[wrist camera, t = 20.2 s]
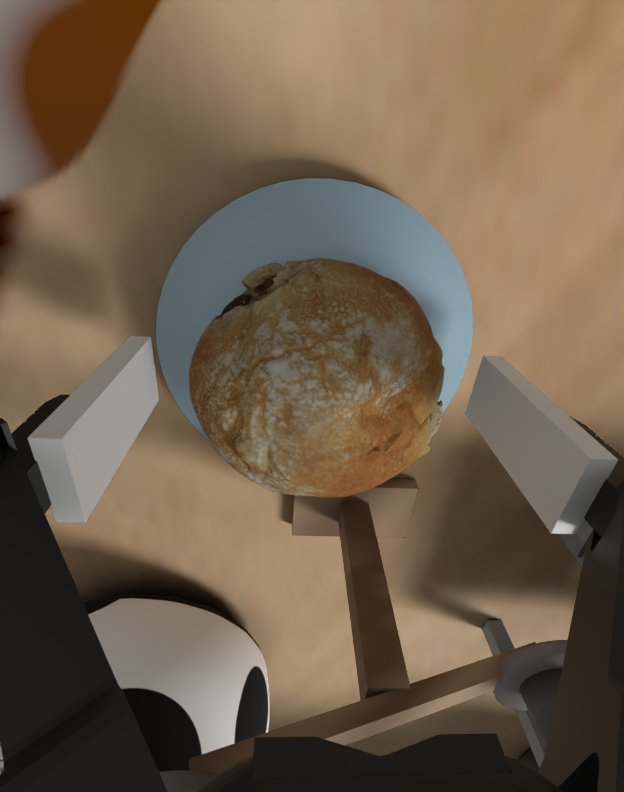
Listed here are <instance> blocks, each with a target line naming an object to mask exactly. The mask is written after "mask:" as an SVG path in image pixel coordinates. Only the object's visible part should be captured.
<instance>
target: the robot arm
mask: <svg viewBox="0 0 624 792" xmlns="http://www.w3.org/2000/svg"><path fill="white" fill-rule="evenodd" d="M158 401H159V395H158V387H157V380H156V372H155V364H154V357H153V349H152V341H151V337H142V336H130V337H129V338H128V339H127V340H126V341H125V342H124V343H123V344H121V345H120V346H119V347H118V348H117V349H116V350H115V351H114V352H113V353H112V354H111V355H110V356H109V357H108V358H107V359H106V360H105V361H104V362H103V363H102V364H101V365H100V366H99V367H98V368H97V369H96V370H95V371H94V372H93V373H92V374H91V375H90V376H89V377H88V378H87V379H86V380H85V381H84V382H83V383H82V384H81V385H80V386H79V387H78V388H77V389H76V390H75V391H74V392H73V393H72V394H71V395H59V396H57V397H55V398H53V399H51V400H49V401H47V402H45V403H44V404H43V405H42V406H41V407H40V408H39V409H38V410H37V411H35V414H32V415H31V416H30V417H29V418H28V419H27V420H26V422H24V423H22V424H21V425H20V426H19V427H18V428H17V429H16V430H15V431H14V432H13V433H12V434H11V432H10V429H9V427H8V424H7V422H6V421H5V420H3V419H2V418H0V744H1V749H2V755H3V762H4V770H3V771H2V773H1V774H0V792H167V789H166V787H165V785H164V782H163V780H162V778H161V776H160V773H159V771H158V769H157V766H156V764H155V762H154V760H153V757H152V755H151V753H150V750H149V748H148V746H147V744H146V741H145V739H144V737H143V734H142V732H141V730H140V728H139V725H138V723H137V721H136V718H135V716H134V714H133V712H132V709H131V707H130V705H129V703H128V700H127V698H126V696H125V694H124V692H123V690H122V688H120V687H119V685H118V683H117V680H116V678H115V676H114V674H113V671H112V669H111V667H110V664H109V662H108V660H107V657H106V655H105V653H104V650H103V648H102V646H101V644H100V641H99V639H98V637H97V634H96V632H95V630H94V627H93V625H92V623H91V620H90V618H89V616H88V613H87V611H86V609H85V607H84V604H83V602H82V600H81V597H80V595H79V593H78V590H77V588H76V586H75V583H74V581H73V579H72V576H71V574H70V572H69V569H68V567H67V565H66V563H65V560H64V558H63V556H62V553H61V551H60V549H59V546H58V544H57V542H56V539H55V537H54V535H53V532H52V530H51V528H50V526H49V523H48V521H47V519H46V516H45V513H46V511H47V510H48V509H49V507H50V506H51V509H52V512H53V515H54V518H55V521H56V522H73V523H86V521H87V520H88V518H89V516H90V514H91V513H92V511H93V509H94V508H95V506H96V504H97V503H98V501H99V499H100V498H101V496H102V494H103V493H104V491H105V489H106V488H107V486H108V484H109V483H110V481H111V479H112V478H113V476H114V474H115V473H116V471H117V469H118V468H119V466H120V464H121V463H122V461H123V459H124V458H125V456H126V454H127V453H128V451H129V449H130V448H131V446H132V444H133V442H134V441H135V439H136V437H137V436H138V434H139V432H140V431H141V429H142V427H143V426H144V424H145V422H146V421H147V419H148V417H149V416H150V414H151V412H152V411H153V409H154V407H155V406H156V404H157V402H158ZM465 414H466V415H467V416H468V418H469V419H470V421H471V422H472V423H473V425H474V426H475V428H476V429H477V430H478V432H479V433H480V435H481V436H482V437H483V439H484V440H485V442H486V443H487V444H488V446H489V447H490V449H491V450H492V451H493V453H494V454H495V456H496V457H497V458H498V460H499V461H500V463H501V464H502V465H503V467H504V468H505V470H506V471H507V472H508V474H509V475H510V477H511V478H512V479H513V481H514V482H515V484H516V485H517V487H518V488H519V489H520V491H521V492H522V494H523V495H524V496H525V498H526V499H527V501H528V502H529V503H530V505H531V506H532V508H533V509H534V510H535V512H536V513H537V515H538V516H539V517H540V519H541V520H542V522H543V523H544V524H545V526H546V527H547V529H548V530H549V531H550V533H551V534H576V533H577V531H578V529H579V528H580V526H581V524H582V522H583V521H584V519H586V520H587V521H588V523H589V524H590V525H591V526H592V527H593V531H592V532H591V534H590V536H589V537H588V539H587V541H586V542H585V544H584V546H583V547H582V549H581V551H580V552H579V554H578V556H577V557H579V558H582V557H583V556H584V560H583V565H582V570H581V575H580V580H579V586H578V591H577V596H576V601H575V606H574V611H573V616H572V621H571V626H570V631H569V636H568V641H567V646H566V652H565V657H564V662H563V667H562V672H561V677H560V682H559V687H558V692H557V697H556V702H555V707H554V713H553V718H552V723H551V728H550V733H549V738H548V743H547V748H546V752H545V756H544V759H543V761H542V764H541V766H540V768H539V766H538V764H537V761H536V759H535V756H534V754H533V752H532V749H531V750H530V751H528V752H527V753H526V754H525V755H524V756H523V757H522V758H521V759H520V761H516V760H514V759H512V758H510V757H508V756H504V753H503V751H502V748H501V745H500V742H499V739H498V737H497V734H446V735H437V736H434V737H432V738H429V739H427V740H424V741H421V742H419V743H416V744H414V745H411V746H409V747H406V748H403V749H401V750H398V751H396V752H393V753H391V754H388V755H385V756H377V755H373V754H370V753H367V752H363V751H360V750H357V749H354V748H351V747H348V746H344V745H341V744H338V743H335V742H332V741H329V740H325V739H322V738H319V737H316V736H310V737H254V750H253V756H252V757H249V758H247V759H244V760H241V761H239V762H237V763H235V764H233V765H231V766H229V767H228V768H226V769H224V770H222V771H221V772H220V773H218V774H217V775H216V776H214V777H213V778H211V779H210V780H209V781H207V782H206V783H205V784H204V785H203V786H202V787H201V788H200V789H199V790H198V791H197V792H624V458H623V457H621V456H620V455H619V454H618V453H617V452H616V451H614V450H613V449H612V448H611V447H610V446H609V445H608V444H605V442H604V441H603V440H602V439H601V438H599V437H598V436H596V434H595V433H594V432H593V431H591V430H590V429H589V428H588V427H587V426H586V425H584V424H582V423H581V422H579V421H577V420H575V419H573V418H572V417H570V416H568V415H567V414H566V413H565V412H564V411H563V410H561V409H560V408H559V407H558V406H557V405H556V404H555V403H554V402H552V401H551V400H550V399H549V398H548V397H547V396H546V395H545V394H543V393H542V392H541V391H540V390H539V389H538V388H537V387H535V386H534V385H533V384H532V383H531V382H530V381H529V380H528V379H526V378H525V377H524V376H523V375H522V374H521V373H520V372H519V371H517V370H516V369H515V368H514V367H513V366H512V365H511V364H509V363H508V362H507V361H506V360H505V359H504V358H503V357H500V356H483V359H482V362H481V365H480V368H479V371H478V375H477V378H476V381H475V384H474V387H473V391H472V394H471V397H470V400H469V403H468V407H467V410H466V413H465Z"/></svg>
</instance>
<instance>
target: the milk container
mask: <svg viewBox="0 0 624 792" xmlns="http://www.w3.org/2000/svg"><path fill="white" fill-rule="evenodd" d="M83 604H84V607H85V609H86V611H87V613H88V616H89V618H90V620H91V623H92V625H93V627H94V630H95V632H96V634H97V637H98V639H99V641H100V644H101V646H102V648H103V650H104V653H105V655H106V657H107V660H108V662H109V664H110V667H111V669H112V671H113V674H114V676H115V678H116V680H117V683H118V685H119V687H120V688H122V690H123V692H124V694H125V696H126V698H127V700H128V703H129V705H130V707H131V709H132V712H133V714H134V716H135V718H136V721H137V723H138V725H139V728H140V730H141V732H142V734H143V737H144V739H145V741H146V744H147V746H148V748H149V750H150V753H151V755H152V757H153V760H154V762H155V764H156V766H157V769H158V771H159V772H163V771H178V770H189V759H190V758H193V757H196V756H199V755H202V754H205V753H208V752H211V751H214V750H216V749H219V748H222V747H225V746H228V745H231V744H234V743H237V742H240V741H243V740H246V739H249V738H252V737H255V736H258V735H261V734H264V733H267V732H268V728H269V715H270V700H269V685H268V676H267V669H266V664H265V660H264V658H263V655H262V652H261V650H260V648H259V646H258V644H257V643H256V641H255V640H254V639H253V638H252V636H251V635H250V634H249V633H248V632H247V631H246V630H245V629H244V628H243V627H242V626H241V625H240V624H238V623H237V622H235V621H233V620H232V619H230V618H228V617H226V616H225V615H223V614H221V613H220V612H218V611H216V610H215V609H213V608H212V607H209V606H206V605H202V604H198V603H194V602H190V601H188V600H185V599H182V598H178V597H175V596H156V595H147V594H135V593H134V594H127V595H121V596H115V597H108V598H100V599H95V600H91V601H87V602H85V603H83ZM3 770H4V762H3V755H2V749H1V744H0V774H1V773H2V771H3Z"/></svg>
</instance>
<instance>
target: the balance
mask: <svg viewBox="0 0 624 792" xmlns="http://www.w3.org/2000/svg"><path fill="white" fill-rule="evenodd" d="M418 490H419V488H418V486H417V483H416V481H415V479H389V480H387V481H386V482H384V483H383V484H380V485H378V486H376V487H374V488H372V489H370V490H367V491H364V492H360V493H358V494H354V495H350V496H347V497H340V498H339V497H337V498H322V497H314V496H295V495H294V504H293V518H292V535H299V536H340V540H341V547H342V555H343V563H344V571H345V579H346V587H347V595H348V603H349V611H350V619H351V627H352V635H353V643H354V650H355V658H356V666H357V674H358V682H359V690H360V698H361V701H359V702H356V703H353V704H350V705H347V706H344V707H341V708H338V709H335V710H332V711H329V712H326V713H323V714H320V715H317V716H314V717H311V718H308V719H305V720H302V721H299V722H297V723H294V724H291V725H288V726H285V727H282V728H279V729H276V730H273V731H270V732H267V733H264V734H261V735H258V736H255V737H310V736H316V737H319V738H322V739H325V740H329V741H332V742H335V743H338V744H341V745H344V746H346V745H348V744H351V743H354V742H357V741H359V740H362V739H365V738H367V737H370V736H373V735H375V734H378V733H381V732H384V731H386V730H389V729H392V728H394V727H397V726H400V725H403V724H405V723H408V722H411V721H413V720H416V719H419V718H422V717H424V716H427V715H430V714H432V713H435V712H438V711H441V710H443V709H446V708H449V707H451V706H454V705H457V704H459V703H462V702H465V701H468V700H470V699H473V698H476V697H478V696H481V695H484V694H487V693H489V692H492V691H493V692H494V695H495V697H496V699H497V701H498V702H500V703H501V704H502V705H504V706H506V707H509V708H512V709H517V710H528V711H529V714H530V716H531V718H532V721H533V723H534V725H535V727H536V730H537V732H538V734H539V737H540V739H541V741H542V743H543V746H544V748H545V750H546V748H547V743H548V738H549V733H550V728H551V723H552V718H553V713H554V707H555V702H556V697H557V692H558V687H559V682H560V677H561V672H562V667H563V662H564V657H565V652H566V646H567V641H568V640H555V641H547V642H541V643H537V644H536V643H535V642H534V643H531V644H528V645H525V646H522V647H519V648H516V649H513V650H510V651H507V652H504V653H501V654H498V655H495V656H492V657H489V658H486V659H483V660H480V661H477V662H474V663H471V664H468V665H466V666H463V667H460V668H457V669H454V670H451V671H448V672H445V673H442V674H439V675H436V676H433V677H430V678H427V679H424V680H421V681H418V682H415V683H412V684H409V679H408V675H407V670H406V666H405V662H404V657H403V653H402V648H401V644H400V639H399V635H398V631H397V626H396V622H395V617H394V613H393V608H392V604H391V600H390V595H389V591H388V586H387V582H386V577H385V573H384V569H383V564H382V560H381V555H380V551H379V546H378V542H377V538H376V537H391V538H405V537H406V533H407V530H408V526H409V522H410V519H411V515H412V511H413V508H414V504H415V500H416V497H417V493H418ZM253 750H254V737H252V738H249V739H246V740H243V741H240V742H237V743H234V744H231V745H228V746H225V747H222V748H219V749H216V750H214V751H211V752H208V753H205V754H202V755H199V756H196V757H193V758H190V759H189V770H178V771H163V772H159V773H160V776H161V778H162V780H163V782H164V785H165V787H166V789H167V792H197V791H198V790H199V789H200V788H201V787H202V786H203V785H204V784H205V783H206V782H207V781H209V780H210V779H211V778H213V777H214V776H216V775H217V774H218V773H220V772H221V771H222V770H224V769H226V768H228V767H229V766H231V765H233V764H235V763H237V762H239V761H241V760H244V759H247V758H249V757H252V756H253Z"/></svg>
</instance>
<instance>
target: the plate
mask: <svg viewBox="0 0 624 792" xmlns="http://www.w3.org/2000/svg"><path fill="white" fill-rule="evenodd" d="M318 257H320V258H328V259H335V260H339V261H343V262H349V263H354V264H357V265H360V266H363V267H365V268H367V269H370V270H372V271H374V272H376V273H378V274H380V275H381V276H383V277H387V278H389V279H392V280H394V281H397V282H398V283H399V284H400V285H402V286H403V287H404V288H405V289H406V290H407V291H408V292H409V293H410V294H411V295H412V296H413V297H414V298H415V299H416V300H417V302H418V304H419V305H420V307H421V309H422V310H423V312H424V314H425V316H426V318H427V320H428V322H429V324H430V326H431V329H432V333H433V336H434V338H435V339H436V341H437V342H438V344H439V346H440V347H441V349H442V352H443V359H442V364H443V366H444V367H445V371H444V380H443V386H442V391H441V394H440V397H439V400H438V402H439V401H440V400H441V401H442V403H443V406H442V409H443V412H444V410H445V409H446V407H447V406H448V404H449V403H450V402H451V400H452V399H453V397H454V395H455V393H456V391H457V389H458V387H459V385H460V383H461V381H462V378H463V375H464V373H465V370H466V367H467V365H468V360H469V356H470V351H471V347H472V337H473V311H472V303H471V298H470V293H469V288H468V285H467V282H466V279H465V276H464V274H463V271H462V268H461V266H460V264H459V262H458V260H457V259H456V257H455V255H454V253H453V251H452V249H451V248H450V246H449V245H448V244H447V242H446V241H445V240H444V238H443V237H442V236H441V235H440V233H439V232H438V231H437V230H436V229H435V228H434V227H433V226H432V225H431V224H430V223H429V222H428V221H427V220H426V219H425V218H424V217H423V216H422V215H421V214H419V213H418V212H417V211H415V210H414V209H412V208H411V207H410V206H408V205H407V204H405V203H404V202H402V201H401V200H399V199H397V198H395V197H393V196H391V195H389V194H387V193H385V192H383V191H381V190H378V189H375V188H372V187H368V186H365V185H362V184H359V183H355V182H349V181H343V180H337V179H330V178H303V179H296V180H289V181H282V182H279V183H276V184H272V185H269V186H265V187H262V188H259V189H257V190H255V191H253V192H250V193H248V194H246V195H244V196H242V197H240V198H238V199H235V200H234V201H232V202H231V203H229V204H228V205H226V206H225V207H223V208H222V209H220V210H219V211H217V212H216V213H214V214H213V215H212V216H211V217H210V218H209V219H208V220H207V221H206V222H204V223H203V224H202V225H201V226H200V227H199V228H198V229H197V230H196V231H195V232H194V234H193V235H192V236H191V237H190V238H189V240H188V241H187V242H186V243H185V245H184V246H183V247H182V249H181V250H180V252H179V254H178V255H177V257H176V259H175V260H174V262H173V264H172V265H171V267H170V270H169V272H168V275H167V277H166V280H165V282H164V285H163V287H162V292H161V296H160V300H159V304H158V309H157V320H156V341H157V351H158V356H159V361H160V366H161V369H162V372H163V375H164V378H165V381H166V384H167V386H168V388H169V390H170V392H171V394H172V396H173V398H174V400H175V402H176V403H177V405H178V406H179V408H180V409H181V411H182V412H183V414H184V415H185V417H186V418H187V419H188V420H189V421H190V422H191V423H192V425H193V426H194V427H195V428H196V429H197V430H198V431H199V432H200V433H201V434H202V435H203V436H205V437H206V438H207V436H206V435H205V433H204V432H203V431H202V428H201V425H200V423H199V420H198V418H197V416H196V413H195V411H194V408H193V405H192V401H191V398H190V396H191V395H190V390H189V368H190V364H191V359H192V356H193V353H194V350H195V347H196V345H197V343H198V341H199V339H200V337H201V335H202V334H203V332H204V331H205V329H206V328H207V326H208V325H209V323H210V322H211V321H212V320H213V319H214V318H215V317H216V316H218V315H221V313H222V312H223V309H224V308H225V307H226V306H227V305H228V304H229V303H230V302H231V301H232V300H233V299H234V298H236V297H238V296H239V295H241V294H242V293H243V292H244V291H246V290H247V288H246V287H245V286H244V285H243V284H242V282H241V281H242V280H243V279H244V278H245V277H246V276H247V275H248V274H249V273H250V272H251V271H252V270H254V269H256V268H258V267H261V266H266V265H268V264H270V263H279V264H281V265H282V266H284V265H285V264H286V262H287V261H302V260H309V259H314V258H318ZM207 439H208V438H207ZM208 440H209V439H208ZM209 441H210V440H209Z"/></svg>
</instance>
